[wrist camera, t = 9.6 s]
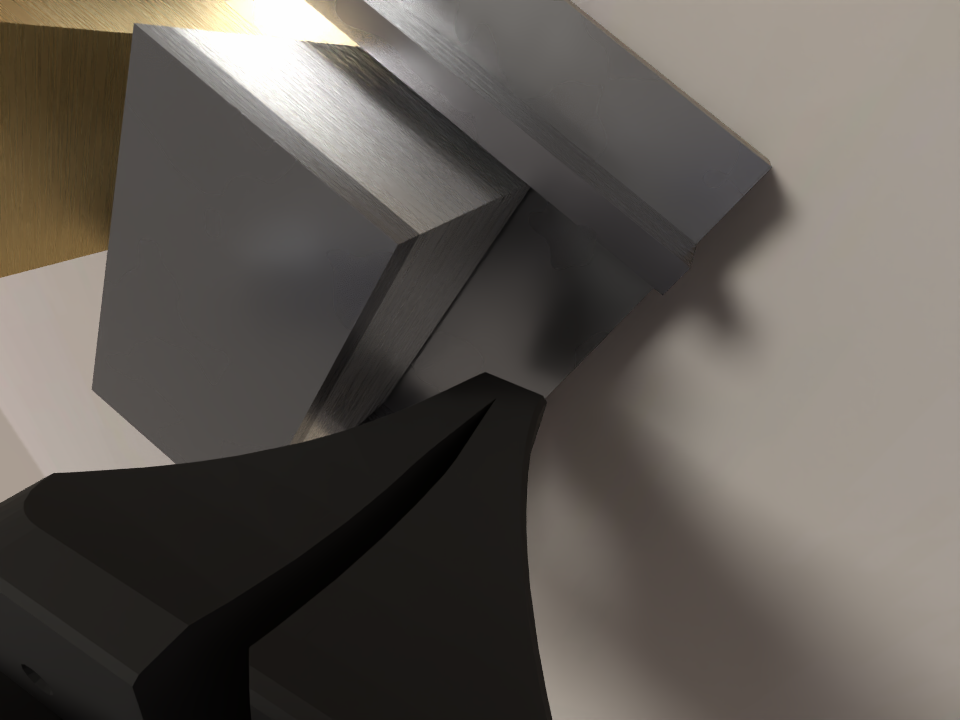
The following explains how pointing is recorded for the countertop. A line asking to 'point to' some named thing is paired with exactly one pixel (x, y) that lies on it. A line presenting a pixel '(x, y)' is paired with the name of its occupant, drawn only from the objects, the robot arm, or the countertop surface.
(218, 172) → the block
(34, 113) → the housing
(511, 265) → the press bed
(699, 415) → the countertop surface
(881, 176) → the countertop surface
